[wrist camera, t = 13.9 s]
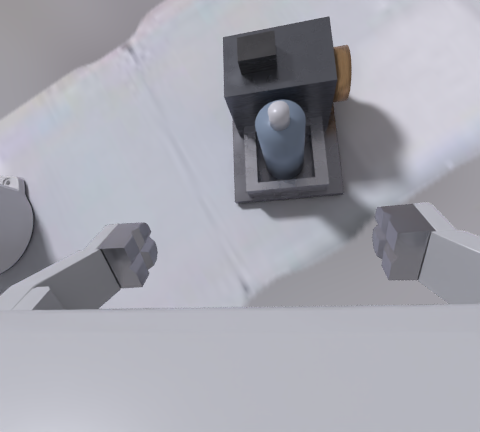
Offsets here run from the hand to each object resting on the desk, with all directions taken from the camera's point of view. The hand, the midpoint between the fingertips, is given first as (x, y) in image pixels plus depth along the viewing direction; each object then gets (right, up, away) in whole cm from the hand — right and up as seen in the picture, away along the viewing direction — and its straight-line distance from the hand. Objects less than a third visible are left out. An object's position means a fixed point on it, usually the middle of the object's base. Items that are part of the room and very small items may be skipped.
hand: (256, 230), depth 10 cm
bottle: (+5, +8, +27) cm, 29 cm away
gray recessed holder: (+6, +12, +29) cm, 32 cm away
